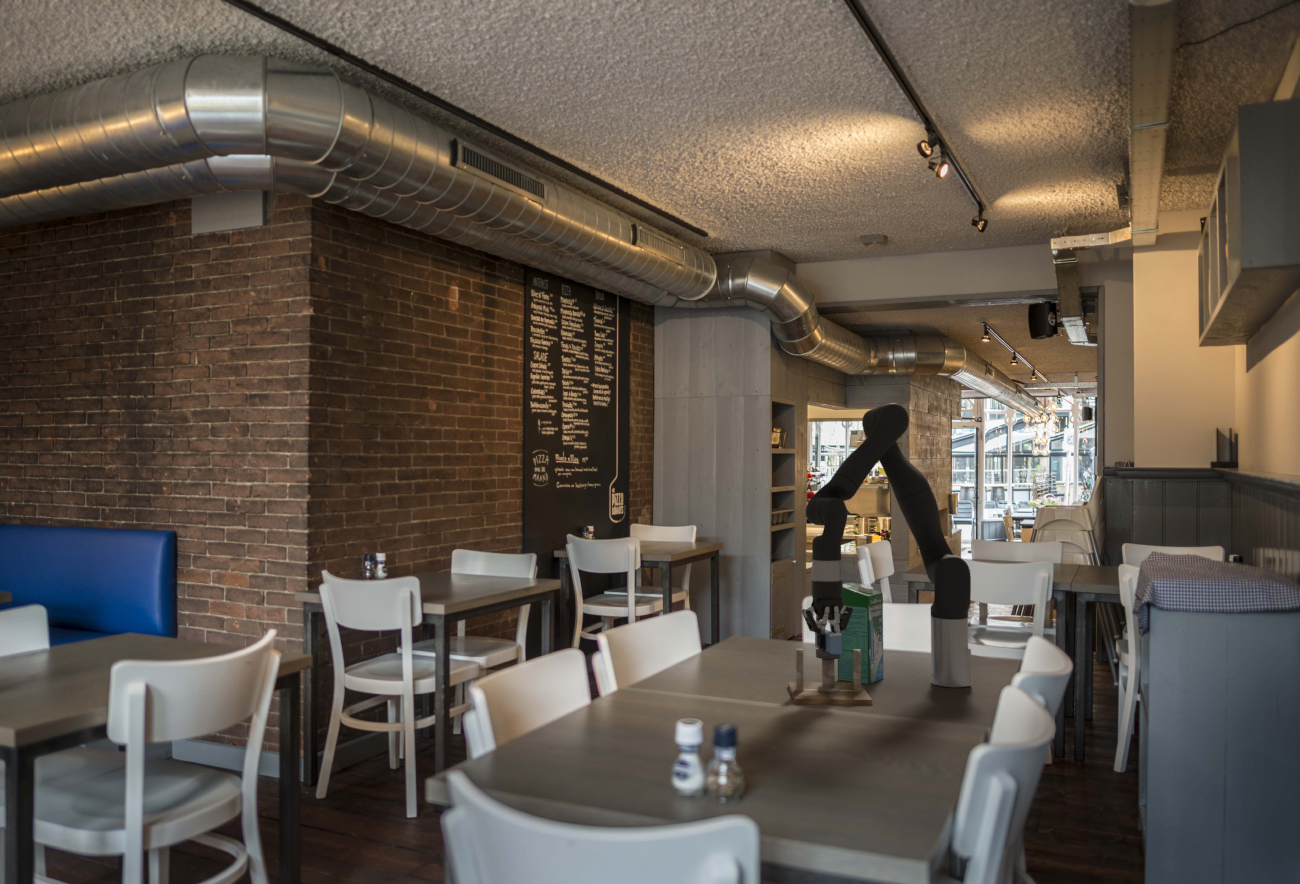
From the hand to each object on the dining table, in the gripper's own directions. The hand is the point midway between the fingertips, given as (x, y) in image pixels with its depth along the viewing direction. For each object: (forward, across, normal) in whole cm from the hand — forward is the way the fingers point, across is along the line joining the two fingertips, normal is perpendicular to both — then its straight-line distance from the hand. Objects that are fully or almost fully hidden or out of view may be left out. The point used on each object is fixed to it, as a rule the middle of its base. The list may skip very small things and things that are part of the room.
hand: (827, 648), depth 229 cm
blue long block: (+2, 0, 0) cm, 2 cm away
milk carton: (+12, -18, -13) cm, 25 cm away
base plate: (+11, 0, 0) cm, 11 cm away
